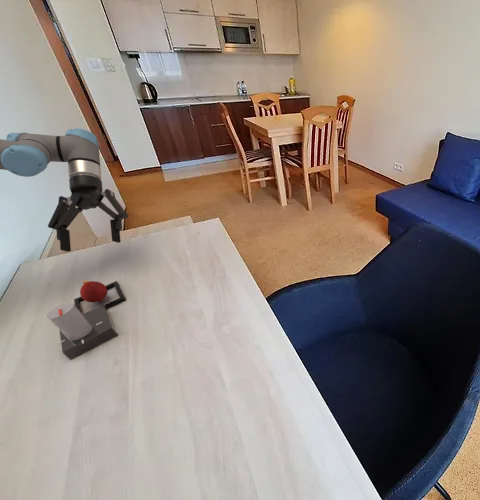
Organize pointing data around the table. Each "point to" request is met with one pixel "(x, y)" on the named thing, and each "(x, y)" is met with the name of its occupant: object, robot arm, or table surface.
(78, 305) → the frame
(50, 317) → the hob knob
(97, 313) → the panel
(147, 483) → the table surface
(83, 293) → the onion
